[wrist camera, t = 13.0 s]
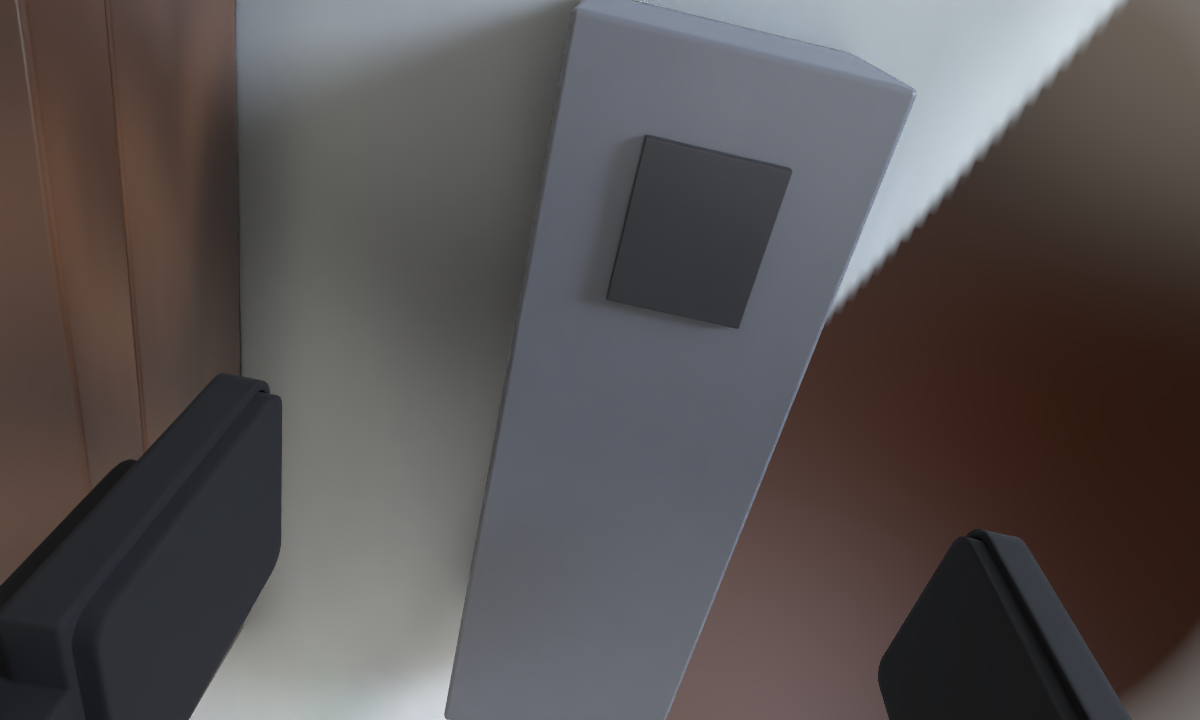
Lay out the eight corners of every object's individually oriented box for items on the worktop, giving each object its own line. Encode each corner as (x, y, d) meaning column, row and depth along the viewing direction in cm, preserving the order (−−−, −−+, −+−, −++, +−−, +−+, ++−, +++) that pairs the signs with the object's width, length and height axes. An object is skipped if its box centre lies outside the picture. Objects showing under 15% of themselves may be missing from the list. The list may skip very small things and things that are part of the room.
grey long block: (590, -11, 13) (571, 7, 9) (855, 54, 13) (924, 92, 10) (475, 596, 19) (441, 726, 16) (650, 630, 19) (651, 766, 16)
